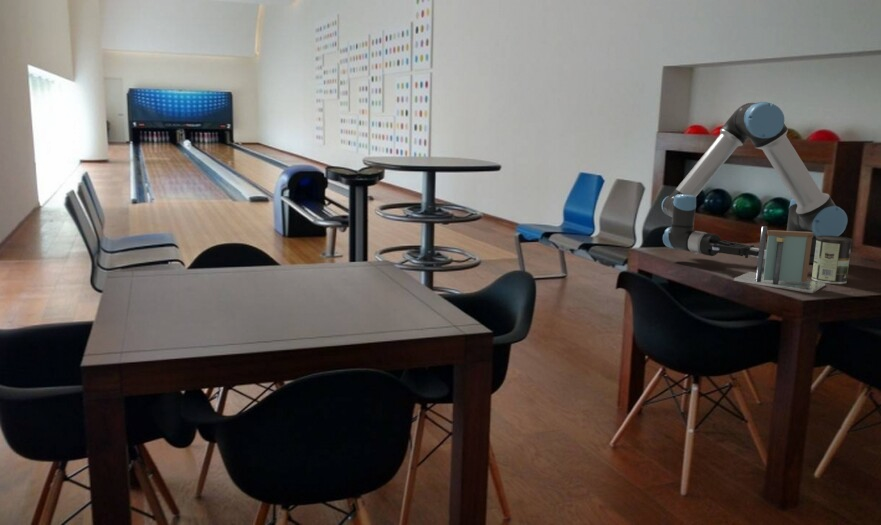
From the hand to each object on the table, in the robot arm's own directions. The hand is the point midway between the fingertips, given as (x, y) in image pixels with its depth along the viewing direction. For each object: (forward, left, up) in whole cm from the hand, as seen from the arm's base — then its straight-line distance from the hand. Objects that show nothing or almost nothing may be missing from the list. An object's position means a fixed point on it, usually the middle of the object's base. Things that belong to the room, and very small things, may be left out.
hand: (769, 255), depth 235 cm
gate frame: (+2, +4, -8) cm, 9 cm away
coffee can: (-15, +15, -8) cm, 23 cm away
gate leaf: (+4, +6, -7) cm, 10 cm away
